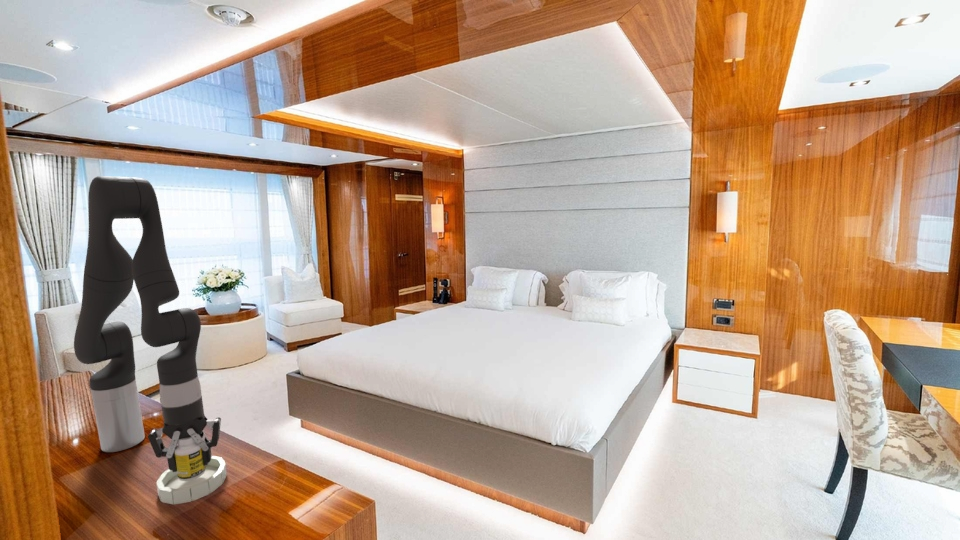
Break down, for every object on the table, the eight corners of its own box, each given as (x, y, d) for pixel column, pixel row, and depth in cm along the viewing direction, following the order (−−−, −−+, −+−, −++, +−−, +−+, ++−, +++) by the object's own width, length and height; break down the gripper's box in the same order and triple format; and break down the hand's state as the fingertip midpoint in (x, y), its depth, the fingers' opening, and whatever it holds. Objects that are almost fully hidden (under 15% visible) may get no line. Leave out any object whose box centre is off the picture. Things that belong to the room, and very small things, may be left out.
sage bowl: (153, 484, 101) (152, 473, 100) (217, 460, 110) (215, 449, 109) (165, 512, 92) (163, 500, 91) (233, 483, 101) (232, 471, 100)
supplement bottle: (192, 483, 97) (186, 443, 95) (172, 480, 98) (166, 440, 96) (211, 468, 102) (206, 430, 101) (192, 466, 103) (187, 428, 102)
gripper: (221, 385, 103) (229, 450, 106) (148, 396, 98) (158, 465, 101) (215, 399, 96) (224, 468, 99) (136, 412, 91) (148, 484, 94)
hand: (191, 466), depth 100 cm, fingers closed on supplement bottle, 5 cm apart
